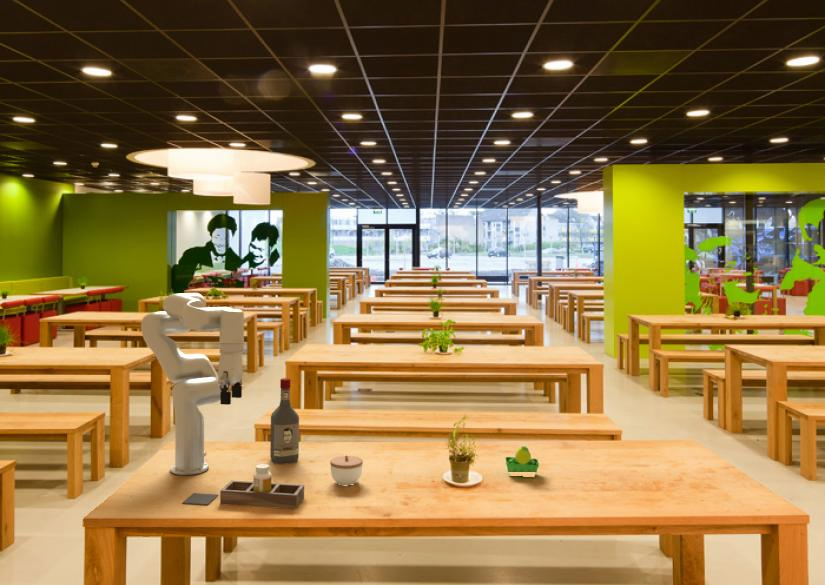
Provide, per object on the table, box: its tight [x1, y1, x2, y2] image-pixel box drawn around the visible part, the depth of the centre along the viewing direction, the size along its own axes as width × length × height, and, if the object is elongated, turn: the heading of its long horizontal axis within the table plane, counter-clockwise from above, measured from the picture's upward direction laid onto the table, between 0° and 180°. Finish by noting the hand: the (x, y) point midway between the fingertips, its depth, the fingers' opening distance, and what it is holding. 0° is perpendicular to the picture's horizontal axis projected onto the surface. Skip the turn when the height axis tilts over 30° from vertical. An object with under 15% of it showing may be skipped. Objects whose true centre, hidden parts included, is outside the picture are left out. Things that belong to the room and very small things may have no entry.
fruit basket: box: [504, 445, 540, 473], centre depth 237 cm, size 11×9×11 cm
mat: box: [182, 492, 219, 506], centre depth 207 cm, size 8×8×1 cm
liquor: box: [269, 377, 300, 465], centre depth 247 cm, size 9×9×30 cm
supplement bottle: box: [252, 463, 272, 492], centre depth 207 cm, size 5×5×10 cm
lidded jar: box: [329, 454, 364, 486], centre depth 225 cm, size 11×11×9 cm
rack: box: [219, 480, 305, 510], centre depth 207 cm, size 9×24×4 cm, turn 84°
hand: (231, 400), depth 217 cm, fingers open, 9 cm apart
